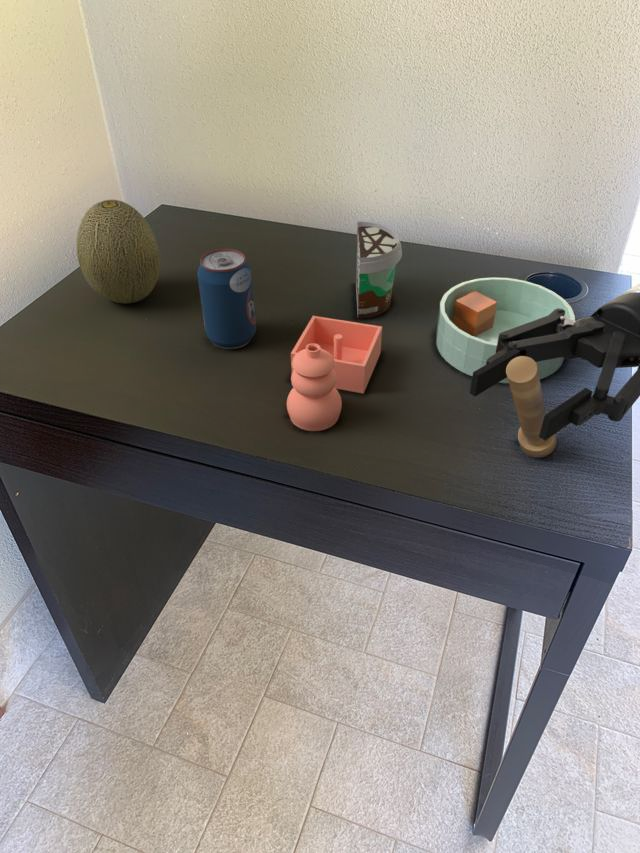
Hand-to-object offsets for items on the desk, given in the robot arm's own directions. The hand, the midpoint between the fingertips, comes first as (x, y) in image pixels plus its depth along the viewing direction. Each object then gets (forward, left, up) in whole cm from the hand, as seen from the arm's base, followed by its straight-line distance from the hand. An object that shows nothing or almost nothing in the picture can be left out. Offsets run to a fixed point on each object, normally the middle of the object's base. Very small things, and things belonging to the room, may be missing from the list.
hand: (508, 405), depth 67 cm
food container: (+35, -16, -11) cm, 40 cm away
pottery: (+24, +3, -11) cm, 26 cm away
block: (+21, -21, -10) cm, 31 cm away
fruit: (+60, +12, -11) cm, 62 cm away
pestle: (0, -8, -10) cm, 12 cm away
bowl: (+16, -21, -10) cm, 28 cm away
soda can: (+41, +6, -11) cm, 43 cm away
